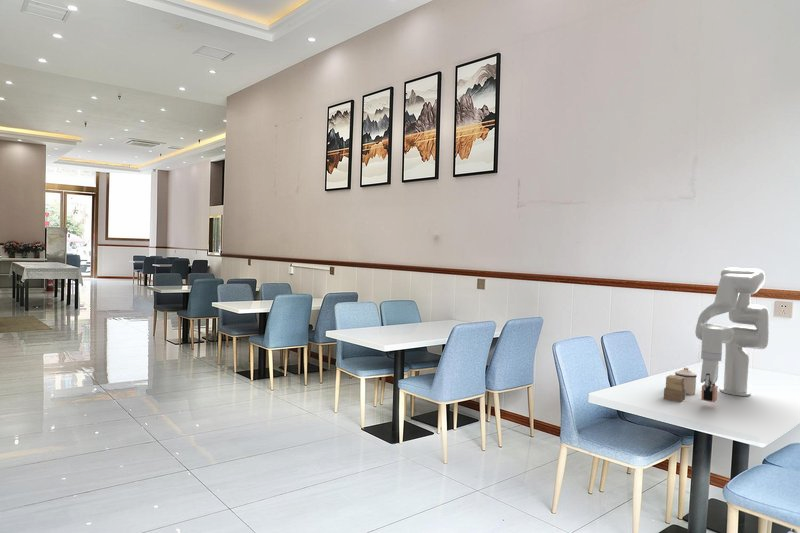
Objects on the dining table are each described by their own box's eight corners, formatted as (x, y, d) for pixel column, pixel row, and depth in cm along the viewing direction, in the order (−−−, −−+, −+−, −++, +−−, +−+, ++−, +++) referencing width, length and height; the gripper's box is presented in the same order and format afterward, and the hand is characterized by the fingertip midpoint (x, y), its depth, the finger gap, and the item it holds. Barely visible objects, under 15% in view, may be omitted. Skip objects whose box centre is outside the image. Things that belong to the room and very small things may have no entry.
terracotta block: (703, 397, 237) (704, 383, 237) (716, 400, 234) (717, 386, 234) (701, 400, 233) (701, 385, 233) (714, 402, 230) (715, 388, 230)
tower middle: (669, 385, 248) (670, 374, 248) (684, 388, 244) (684, 377, 244) (665, 388, 244) (666, 376, 244) (680, 390, 240) (680, 379, 240)
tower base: (667, 396, 249) (668, 385, 249) (684, 399, 245) (685, 388, 245) (663, 399, 244) (664, 388, 244) (681, 402, 239) (681, 391, 239)
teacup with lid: (697, 392, 259) (698, 367, 259) (693, 396, 252) (695, 370, 251) (669, 388, 266) (670, 363, 266) (665, 391, 259) (666, 366, 259)
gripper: (705, 352, 242) (703, 393, 242) (696, 357, 228) (694, 401, 229) (725, 354, 237) (722, 396, 238) (717, 360, 224) (715, 404, 224)
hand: (709, 398), depth 233 cm, fingers closed on terracotta block, 5 cm apart
